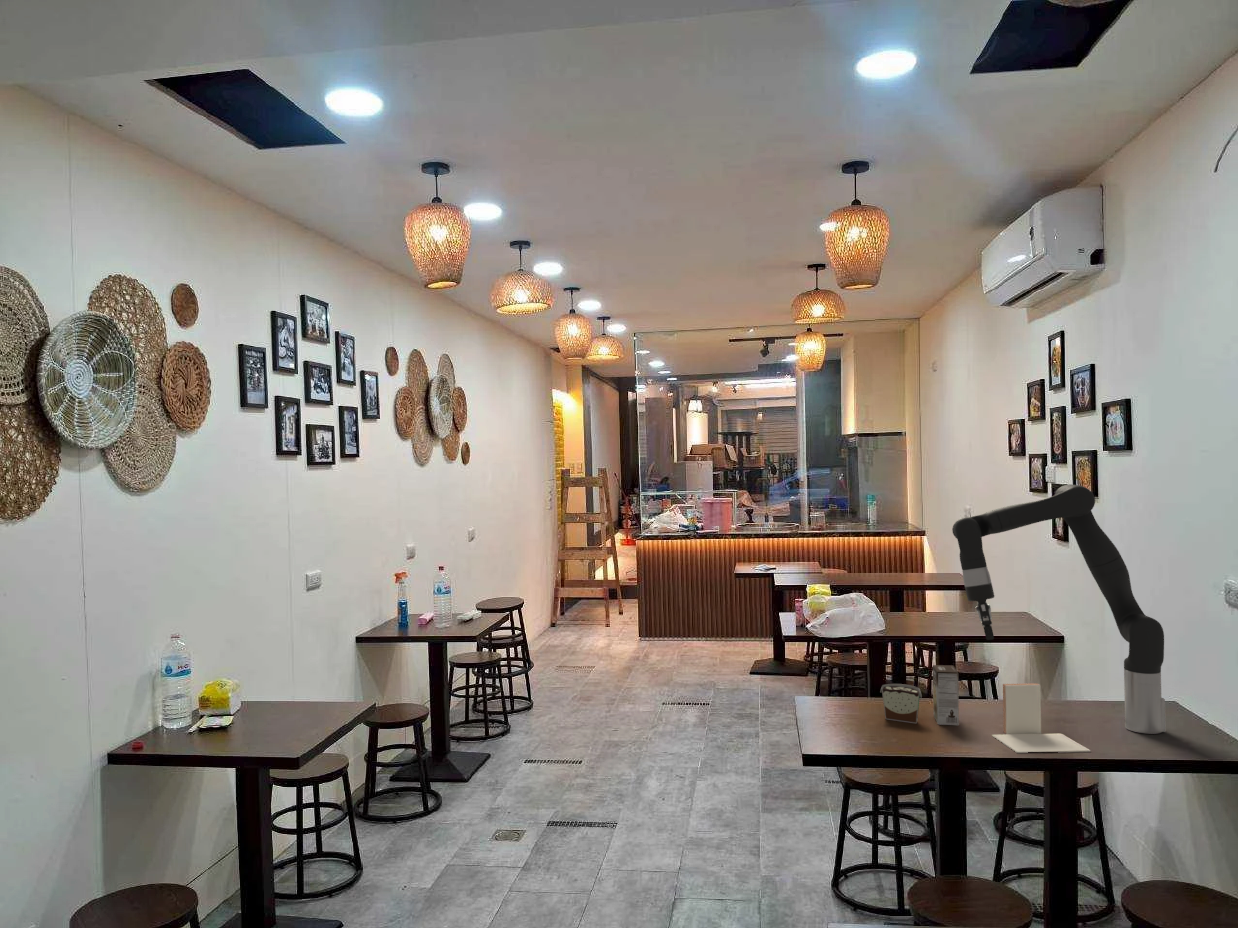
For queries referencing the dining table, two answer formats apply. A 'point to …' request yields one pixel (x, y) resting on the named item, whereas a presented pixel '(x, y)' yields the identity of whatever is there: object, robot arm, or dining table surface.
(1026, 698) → the tan flat block
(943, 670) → the coffee box
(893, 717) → the food container
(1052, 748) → the mat
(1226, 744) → the dining table surface
